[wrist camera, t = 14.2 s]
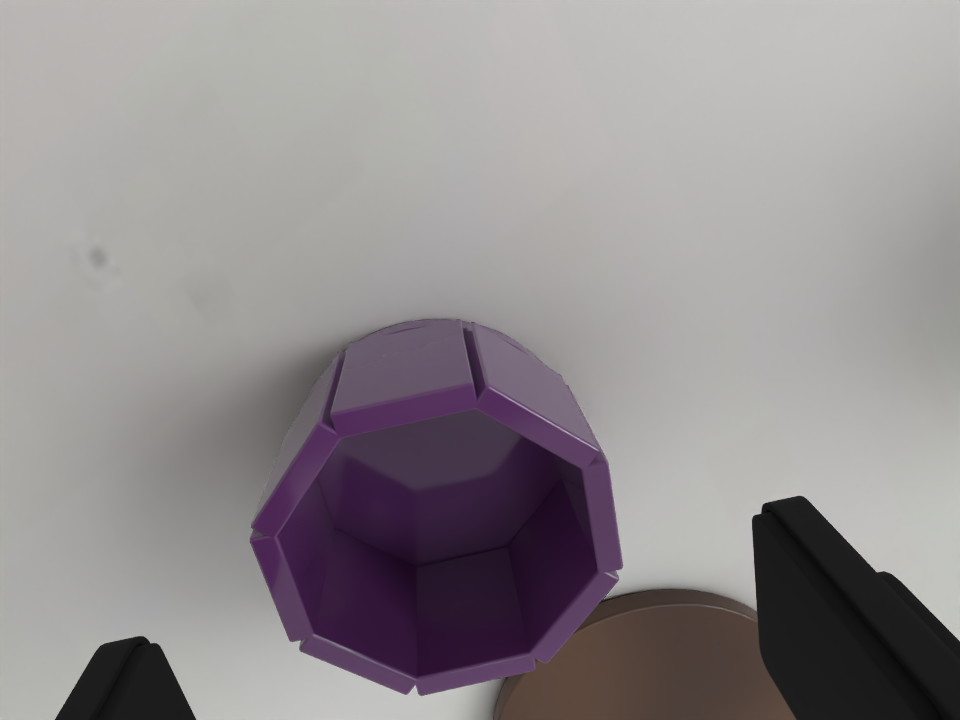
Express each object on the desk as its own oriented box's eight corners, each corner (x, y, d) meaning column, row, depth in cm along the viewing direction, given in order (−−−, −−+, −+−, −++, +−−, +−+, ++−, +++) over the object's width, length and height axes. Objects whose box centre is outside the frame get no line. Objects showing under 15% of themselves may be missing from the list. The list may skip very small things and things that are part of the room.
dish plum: (340, 584, 17) (320, 720, 13) (260, 353, 15) (208, 440, 11) (587, 529, 17) (635, 649, 13) (548, 290, 15) (593, 356, 11)
